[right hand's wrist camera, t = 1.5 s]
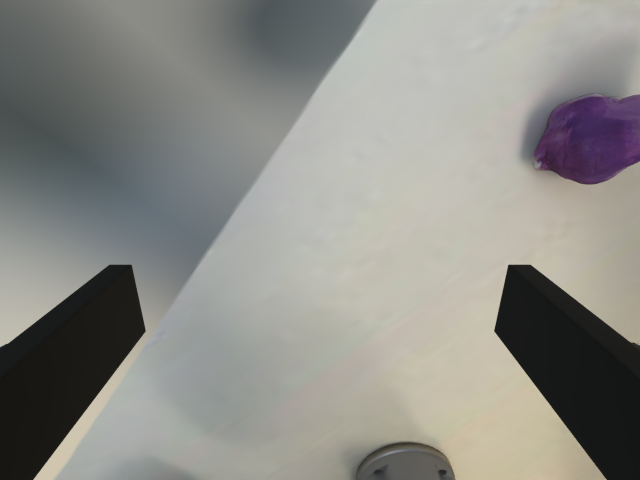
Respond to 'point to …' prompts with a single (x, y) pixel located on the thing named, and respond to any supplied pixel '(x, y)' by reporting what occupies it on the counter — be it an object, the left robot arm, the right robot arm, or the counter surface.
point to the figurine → (591, 138)
